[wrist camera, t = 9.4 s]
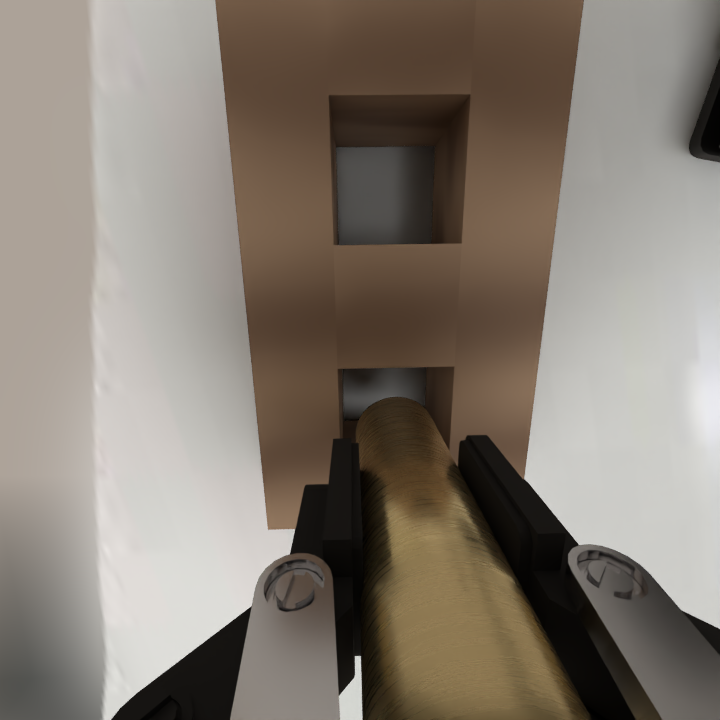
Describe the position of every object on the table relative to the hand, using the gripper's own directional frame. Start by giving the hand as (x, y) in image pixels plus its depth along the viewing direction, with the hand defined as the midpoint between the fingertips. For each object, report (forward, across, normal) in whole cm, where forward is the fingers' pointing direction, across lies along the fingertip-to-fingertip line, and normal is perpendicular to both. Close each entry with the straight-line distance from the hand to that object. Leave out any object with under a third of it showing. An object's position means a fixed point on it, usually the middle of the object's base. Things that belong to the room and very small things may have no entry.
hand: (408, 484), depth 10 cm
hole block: (+9, 0, -5) cm, 10 cm away
